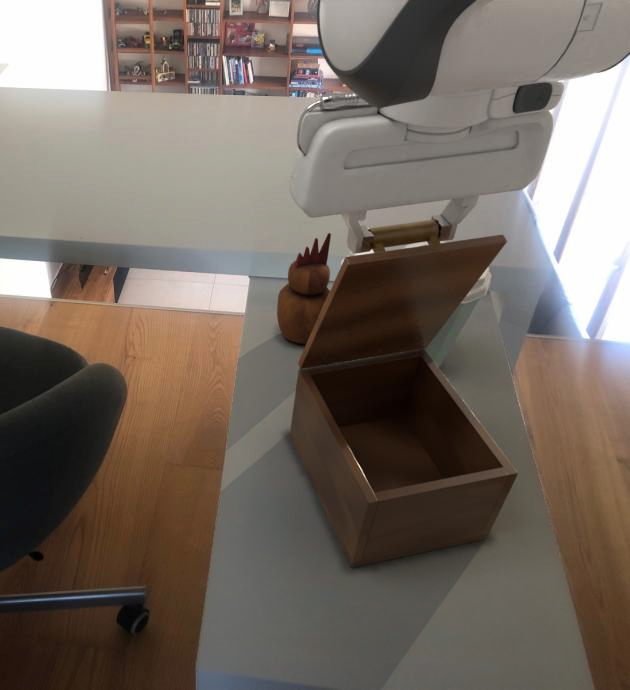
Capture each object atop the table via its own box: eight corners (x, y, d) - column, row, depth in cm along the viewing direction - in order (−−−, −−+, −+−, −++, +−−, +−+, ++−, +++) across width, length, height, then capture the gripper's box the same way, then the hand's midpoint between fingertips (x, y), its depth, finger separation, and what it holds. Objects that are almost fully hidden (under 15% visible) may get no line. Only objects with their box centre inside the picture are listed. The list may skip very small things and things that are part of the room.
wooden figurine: (328, 324, 91) (344, 224, 81) (327, 352, 87) (344, 251, 77) (276, 318, 92) (286, 220, 82) (272, 346, 88) (282, 246, 78)
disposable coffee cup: (373, 325, 91) (395, 226, 81) (460, 339, 88) (493, 238, 78) (368, 380, 83) (392, 277, 73) (463, 396, 80) (500, 292, 71)
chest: (486, 539, 66) (518, 473, 60) (351, 568, 64) (368, 503, 57) (405, 414, 78) (424, 348, 72) (289, 435, 76) (298, 369, 70)
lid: (507, 241, 56) (483, 196, 58) (348, 264, 54) (329, 217, 56) (426, 348, 72) (409, 309, 74) (299, 369, 69) (286, 329, 72)
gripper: (317, 113, 47) (297, 281, 56) (586, 84, 50) (526, 247, 59) (286, 81, 52) (272, 240, 61) (533, 55, 55) (485, 211, 64)
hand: (399, 243), depth 60 cm, fingers open, 6 cm apart
